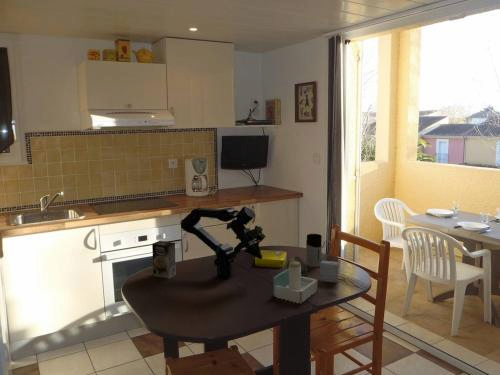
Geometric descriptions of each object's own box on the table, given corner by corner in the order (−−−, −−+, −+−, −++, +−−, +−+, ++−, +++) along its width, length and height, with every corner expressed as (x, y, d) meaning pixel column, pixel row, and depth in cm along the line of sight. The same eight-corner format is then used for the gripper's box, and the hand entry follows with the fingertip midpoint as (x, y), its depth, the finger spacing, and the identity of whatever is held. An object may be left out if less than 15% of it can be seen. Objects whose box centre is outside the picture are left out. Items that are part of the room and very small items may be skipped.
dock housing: (275, 297, 183) (275, 286, 182) (293, 285, 196) (293, 274, 195) (300, 303, 176) (300, 292, 175) (317, 290, 189) (317, 279, 188)
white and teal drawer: (273, 295, 184) (273, 277, 182) (289, 284, 196) (289, 267, 195) (298, 301, 177) (298, 283, 176) (313, 289, 189) (314, 272, 188)
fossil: (306, 278, 203) (296, 259, 202) (289, 285, 206) (279, 266, 205) (310, 269, 213) (300, 251, 213) (293, 276, 216) (284, 258, 216)
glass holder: (310, 260, 230) (310, 232, 227) (334, 265, 222) (335, 236, 219) (302, 264, 223) (302, 236, 220) (327, 270, 215) (328, 240, 212)
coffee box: (152, 276, 207) (151, 243, 205) (160, 272, 213) (159, 240, 210) (169, 279, 204) (167, 245, 201) (176, 274, 210) (175, 242, 207)
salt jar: (289, 292, 184) (289, 265, 181) (287, 287, 189) (287, 261, 187) (301, 292, 184) (301, 265, 182) (299, 287, 189) (299, 261, 187)
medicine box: (338, 279, 202) (338, 262, 200) (337, 283, 198) (337, 265, 196) (321, 277, 204) (321, 260, 203) (319, 281, 200) (320, 263, 199)
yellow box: (259, 257, 236) (259, 248, 235) (287, 259, 233) (287, 250, 232) (254, 266, 221) (254, 257, 220) (283, 268, 218) (283, 259, 218)
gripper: (239, 224, 186) (261, 253, 182) (262, 216, 201) (283, 243, 197) (224, 239, 192) (245, 268, 187) (248, 230, 207) (268, 256, 203)
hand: (261, 258), depth 194 cm, fingers closed
